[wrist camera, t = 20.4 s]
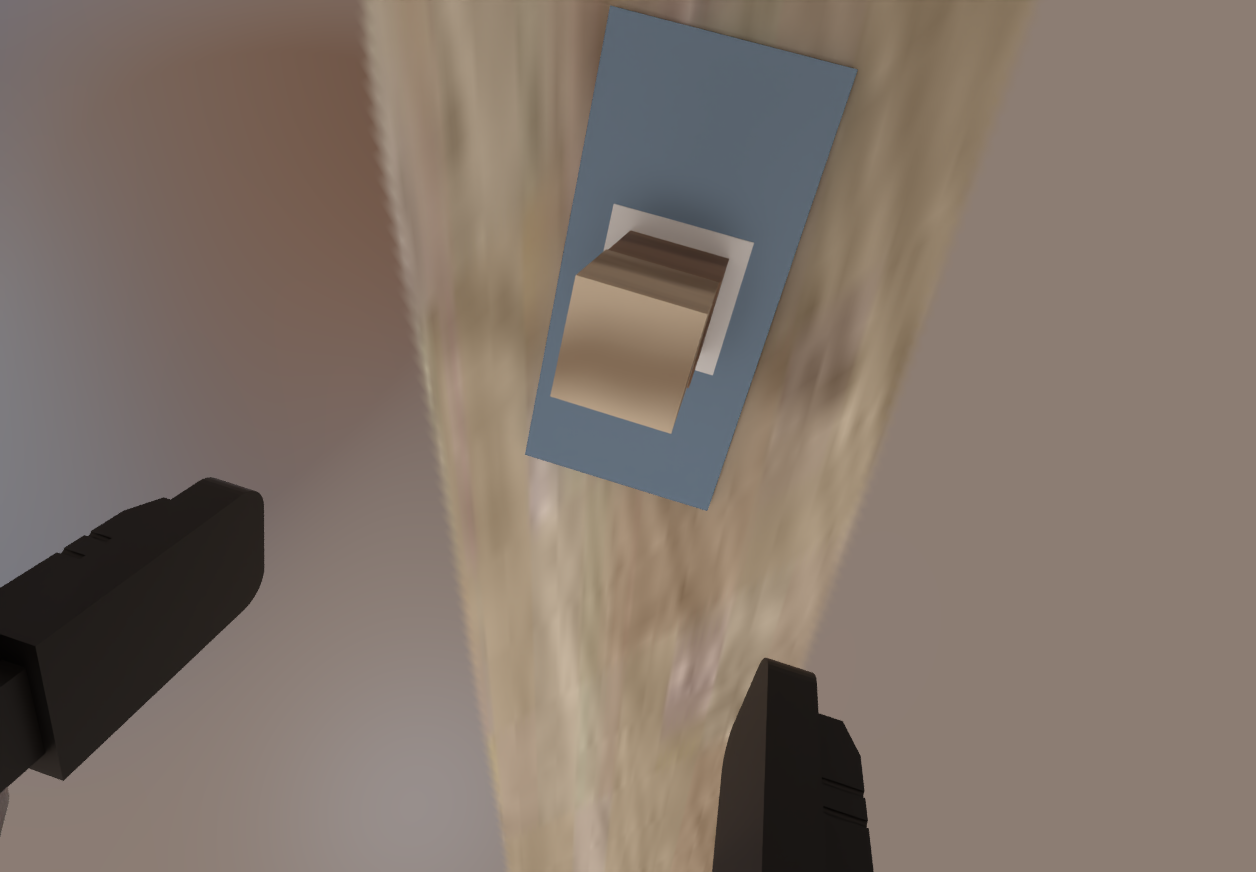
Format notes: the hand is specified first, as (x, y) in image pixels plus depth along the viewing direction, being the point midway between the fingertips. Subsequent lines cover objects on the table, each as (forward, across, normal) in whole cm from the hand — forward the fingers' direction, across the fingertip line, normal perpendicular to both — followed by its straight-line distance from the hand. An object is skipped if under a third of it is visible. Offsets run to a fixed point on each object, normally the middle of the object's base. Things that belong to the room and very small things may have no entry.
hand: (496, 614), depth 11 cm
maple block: (+22, +1, +2) cm, 22 cm away
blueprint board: (+28, +1, +2) cm, 28 cm away
